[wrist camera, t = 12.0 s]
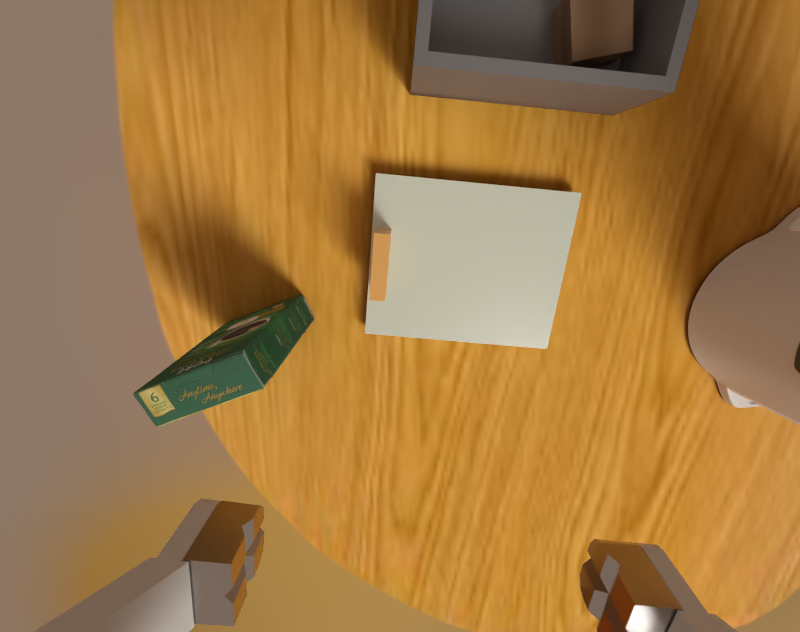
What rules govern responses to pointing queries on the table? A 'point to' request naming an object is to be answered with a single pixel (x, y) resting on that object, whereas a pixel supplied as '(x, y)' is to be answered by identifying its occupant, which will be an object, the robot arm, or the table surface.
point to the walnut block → (592, 32)
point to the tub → (543, 56)
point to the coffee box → (227, 362)
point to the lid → (467, 260)
